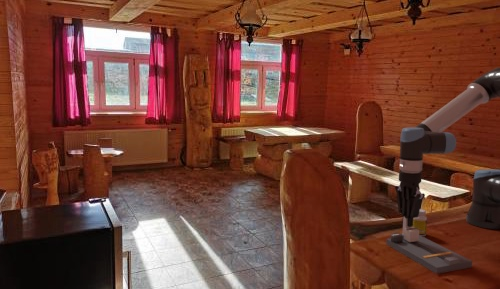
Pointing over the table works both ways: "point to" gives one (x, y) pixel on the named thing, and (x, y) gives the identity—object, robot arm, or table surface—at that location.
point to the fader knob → (411, 234)
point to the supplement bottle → (421, 222)
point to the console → (429, 254)
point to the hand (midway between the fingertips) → (407, 233)
